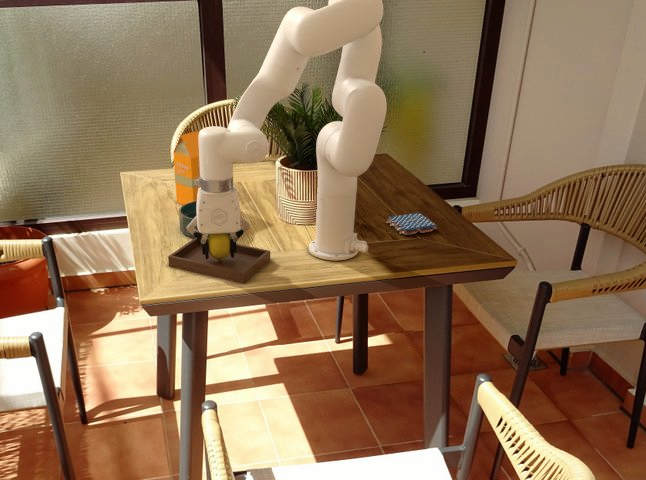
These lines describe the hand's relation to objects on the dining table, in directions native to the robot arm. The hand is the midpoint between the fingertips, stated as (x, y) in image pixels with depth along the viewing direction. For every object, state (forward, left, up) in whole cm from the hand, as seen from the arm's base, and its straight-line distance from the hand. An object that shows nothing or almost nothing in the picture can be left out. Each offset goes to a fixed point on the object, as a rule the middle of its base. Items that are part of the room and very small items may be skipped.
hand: (219, 255), depth 178 cm
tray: (0, 0, -2) cm, 2 cm away
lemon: (0, 0, -1) cm, 1 cm away
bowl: (+13, -17, -2) cm, 22 cm away
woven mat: (-35, -44, -2) cm, 56 cm away
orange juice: (+27, -34, -2) cm, 43 cm away
